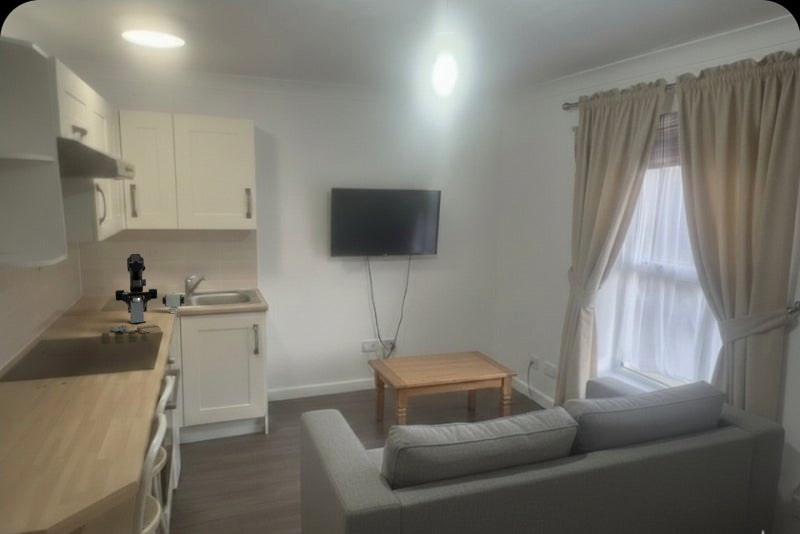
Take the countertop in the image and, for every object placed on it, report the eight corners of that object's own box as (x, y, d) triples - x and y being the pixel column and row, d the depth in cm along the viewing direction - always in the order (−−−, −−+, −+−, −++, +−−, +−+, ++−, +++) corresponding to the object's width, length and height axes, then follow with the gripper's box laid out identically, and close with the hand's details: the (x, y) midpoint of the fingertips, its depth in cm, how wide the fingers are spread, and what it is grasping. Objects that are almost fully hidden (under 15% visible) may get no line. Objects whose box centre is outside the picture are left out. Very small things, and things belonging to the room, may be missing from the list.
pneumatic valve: (183, 313, 305) (183, 293, 303) (162, 314, 301) (162, 294, 300) (185, 311, 310) (184, 292, 308) (164, 312, 307) (163, 292, 305)
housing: (131, 320, 256) (130, 297, 254) (143, 319, 258) (142, 296, 257) (131, 322, 252) (130, 298, 250) (143, 321, 254) (143, 298, 253)
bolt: (108, 332, 257) (108, 325, 257) (113, 330, 261) (113, 323, 260) (121, 333, 256) (121, 326, 256) (126, 331, 260) (126, 324, 259)
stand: (136, 330, 263) (136, 326, 263) (155, 328, 269) (155, 324, 269) (141, 333, 256) (141, 330, 256) (160, 331, 262) (160, 327, 262)
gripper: (114, 274, 251) (115, 300, 243) (156, 273, 260) (158, 298, 252) (115, 287, 259) (115, 313, 251) (156, 285, 268) (157, 310, 260)
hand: (137, 308), depth 253 cm, fingers closed on housing, 5 cm apart
